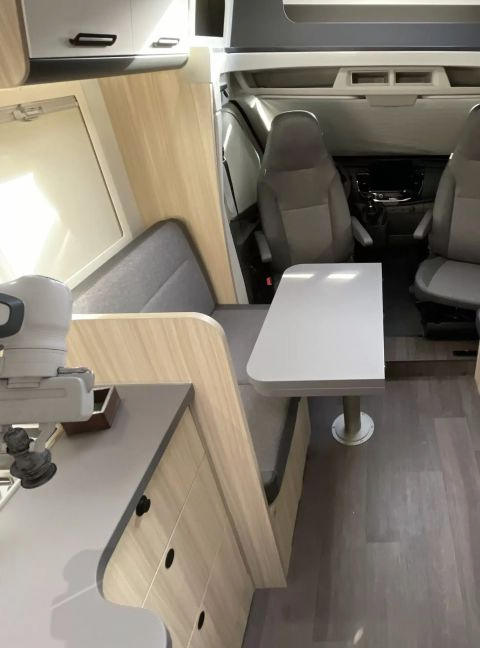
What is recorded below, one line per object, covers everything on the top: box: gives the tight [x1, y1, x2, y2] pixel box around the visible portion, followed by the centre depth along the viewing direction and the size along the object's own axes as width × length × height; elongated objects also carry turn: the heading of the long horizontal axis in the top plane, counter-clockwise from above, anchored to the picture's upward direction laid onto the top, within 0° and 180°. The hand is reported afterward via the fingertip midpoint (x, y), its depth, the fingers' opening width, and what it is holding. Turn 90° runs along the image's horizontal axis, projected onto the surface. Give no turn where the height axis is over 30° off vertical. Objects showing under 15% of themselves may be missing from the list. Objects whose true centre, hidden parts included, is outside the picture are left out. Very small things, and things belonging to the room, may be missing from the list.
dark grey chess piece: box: [3, 426, 58, 490], centre depth 74 cm, size 6×6×12 cm
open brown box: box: [59, 384, 122, 436], centre depth 100 cm, size 9×9×5 cm
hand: (20, 453), depth 73 cm, fingers closed on dark grey chess piece, 3 cm apart
